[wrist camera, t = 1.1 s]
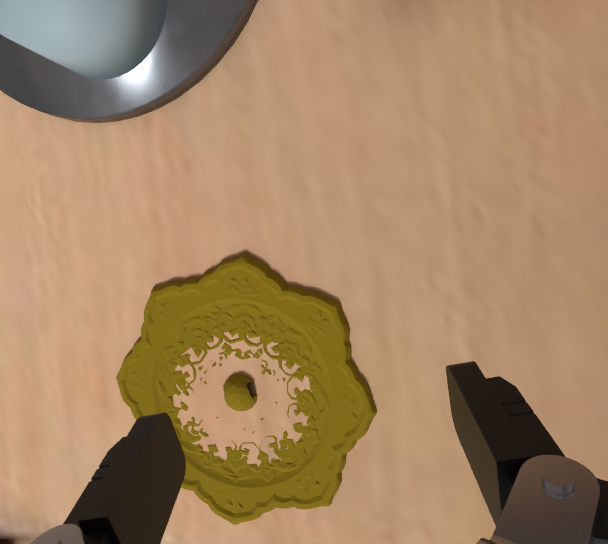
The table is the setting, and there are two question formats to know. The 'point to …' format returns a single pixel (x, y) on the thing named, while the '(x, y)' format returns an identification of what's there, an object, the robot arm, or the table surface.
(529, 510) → the robot arm
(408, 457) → the table surface
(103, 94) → the turntable
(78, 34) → the cover
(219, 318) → the decorative medallion
